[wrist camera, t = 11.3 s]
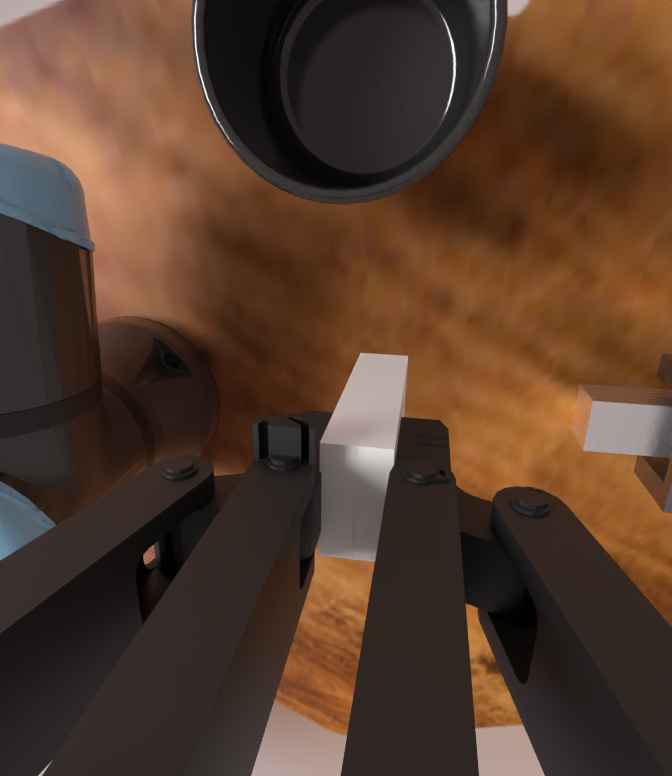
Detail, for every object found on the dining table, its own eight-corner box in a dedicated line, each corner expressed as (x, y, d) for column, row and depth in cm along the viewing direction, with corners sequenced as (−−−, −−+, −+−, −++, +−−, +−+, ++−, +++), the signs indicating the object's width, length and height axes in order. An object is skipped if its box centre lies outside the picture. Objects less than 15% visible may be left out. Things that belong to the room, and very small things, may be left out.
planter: (319, -28, 36) (222, -219, 19) (504, 27, 35) (568, -123, 19) (273, 171, 40) (165, 154, 24) (435, 223, 40) (438, 242, 23)
